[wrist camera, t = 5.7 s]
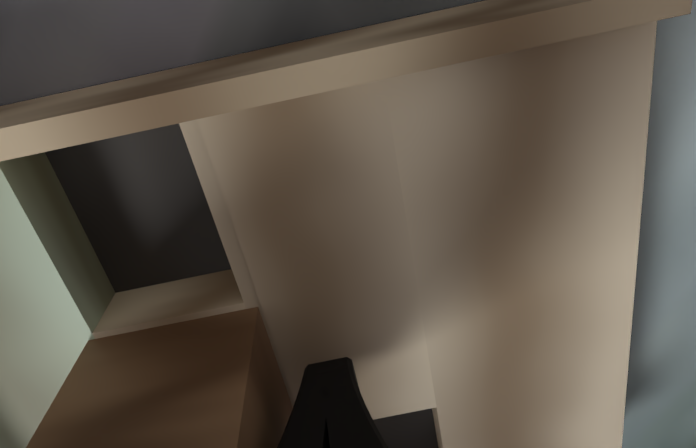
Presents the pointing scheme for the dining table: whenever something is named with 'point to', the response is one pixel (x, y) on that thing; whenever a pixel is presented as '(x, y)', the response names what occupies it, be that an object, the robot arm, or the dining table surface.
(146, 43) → the dining table surface
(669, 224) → the dining table surface
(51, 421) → the walnut block
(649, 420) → the dining table surface
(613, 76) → the divided beige tray
